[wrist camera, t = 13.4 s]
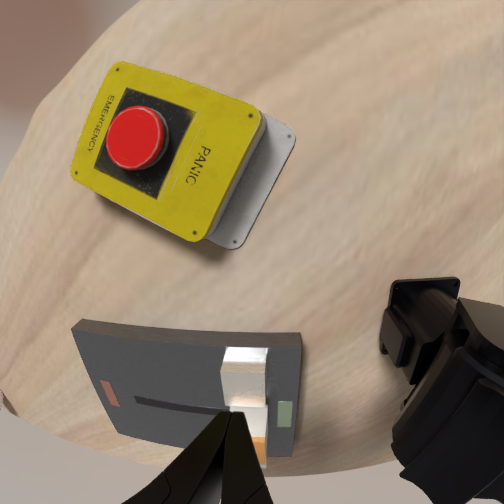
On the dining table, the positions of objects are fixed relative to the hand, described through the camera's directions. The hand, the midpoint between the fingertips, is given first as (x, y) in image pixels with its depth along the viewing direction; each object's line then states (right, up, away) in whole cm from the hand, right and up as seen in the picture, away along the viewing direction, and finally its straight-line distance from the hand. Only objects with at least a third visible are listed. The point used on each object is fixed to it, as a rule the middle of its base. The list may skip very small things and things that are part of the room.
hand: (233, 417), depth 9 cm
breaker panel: (-5, -8, +15) cm, 18 cm away
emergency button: (-5, +13, +10) cm, 17 cm away
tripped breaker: (0, -8, +13) cm, 15 cm away
